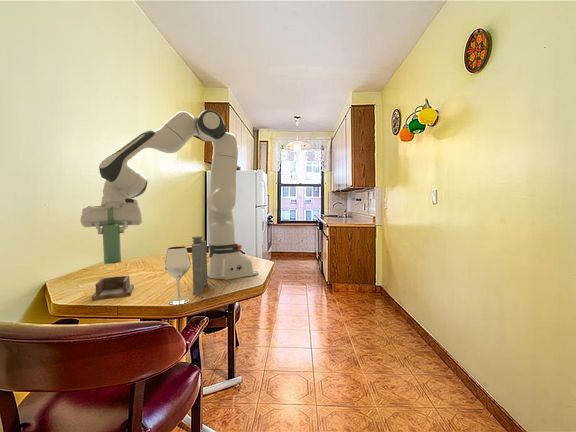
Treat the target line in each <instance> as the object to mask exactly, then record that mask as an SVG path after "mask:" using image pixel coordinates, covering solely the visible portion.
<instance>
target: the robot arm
mask: <svg viewBox="0 0 576 432" xmlns="http://www.w3.org/2000/svg"><path fill="white" fill-rule="evenodd" d="M227 131H228V130H227V127H226V123H225V122H224V119H223V117H222V115H221V114H220V113H219V112H218V111H216V110H214V109H205V110H203V111H201V113H199V115H198V117H196V116H194V115H192V114H191V113H190V112H187V111H184V110H182V111H178V112H177V113H175V114H174V115H173V116H172V117H171V118H169V119H168V120H167V121H166V122H165V123H164V124H163V125H162V126H161V127H160V128H158V129H156V130H151V129H149V130H146V131H143V132H142V133H141V134H139V135H137V136H136V137H135V138H133V139H132V140H131V141H129V142H128V143H127V144H125V145H124V146H123V147H120V149H119V150H117V151H116V152H114V153H113V154H111V155H109V156H107V157H105V158H104V159H103V160H102V161H101V162H100V164H99V167H98V170H99V175H100V176H101V178H102V179H104V180H105V182H104V184H103V189H102V194H103V195H102V197H101V202H100V205H95V206H92V205H91V206H89V205H88V206H86V207H84V208H82V212H81V217H80V220H79V221H80V225H81V226H82V227H84V228H94V227H95V230H97V235H103V230H102V225H108V218H107V208H113V212H114V224H119V225H120V227H119V232H120V234H125V230H127V229H128V227H129V226H138V225H141V224H142V223H143V222H142V221H143V219H142V218H143V217H142V212H141V209H140V207H139V202H138V200H137V199H134V198H137V197H140V196H141V195H143V194H144V193H145V192H146V190H147V186H148V179H147V177H146V176H145V175H144V174H142V173H141V172H140V171H138V170H137V169H136V168H134V166H132V165H131V164H129V163H128V161H129V160H131V159H132V158H133V157H135V156H136V155H137V154H138V153H140V152H141V151H143V150H144V149H153V150H157V151H160V152H162V153H165V154H175V153H178V152H179V151H180V150H181V149H183V147H184V146H185V145H186V144H187V142H188V141H189V140H190V139H191V138H193V137H194V138H195V139H198V140H200V141H201V142H204V143H212V148H213V149H212V158H211V169H210V185H209V194H208V196H207V198H206V207H207V217H208V218H207V219H208V230H209V231H208V232H209V237H208V238H209V244H208V257H209V264H208V265H209V266H208V269H207V275H208V279H215V280H216V279H218V280H226V281H227V280H233V279H239V278H245V277H250V276H251V277H252V276H257V275H258V274H259V271H258V270H257V269H256V268H255V267H254V266H253V262H252V260H251V259H250V258H249V257H248V256H246V255H245V254H244V253H243V252H241V251H240V250H242V244H237V243H236V240H235V239H236V237H235V236H236V235H235V223H234V218H233V217H234V216H233V209H234V208H235V205H236V195H237V193H236V192H237V181H236V180H237V168H238V158H239V143H238V138H237V137H236V135H234V133H231V132H227Z"/></svg>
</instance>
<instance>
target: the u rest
mask: <svg viewBox="0 0 576 432" xmlns="http://www.w3.org/2000/svg"><path fill="white" fill-rule="evenodd" d="M130 281H131V280H130V275H129V274H128V275H120V276H109V277H100V278H99V280H98V281H97V282H96V284H95V292H94V293H93V295H91V300H92V301H95V300H102V299H111V298H112V297H113V298H121V297H128V296H131V295H132V294H133V293H132V292H133V291H134V287H135V285H134V284H130V283H131V282H130ZM132 290H133V291H132Z"/></svg>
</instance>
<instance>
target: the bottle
mask: <svg viewBox="0 0 576 432" xmlns="http://www.w3.org/2000/svg"><path fill="white" fill-rule="evenodd" d="M107 218H108V225H102V226H101V228H102V230H103V234H102V243H103V244H102V247H103V264H105V265H106V264H107V265H111V264H118V263H122V254H121V253H122V251H121V248H122V247H121V233H120V232H119V227H121V226H120V225H119V224H114V212H113V208H107Z"/></svg>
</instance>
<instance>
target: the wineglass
mask: <svg viewBox="0 0 576 432" xmlns="http://www.w3.org/2000/svg"><path fill="white" fill-rule="evenodd" d="M189 255H190V254H189V251H188V249H187V246H172V247H167V249H166V253H165V259H164V263H163V267H164V270H165V271H166V272H167V273H168V274H169V275H170V276H172V278H174V279H175V281H176V286H177V298H175V299H174V298H173V299H171V300H169V301H168V304H169V305H173V306H177V305H178V306H179V305H184V304H187V303H189V302H190V299H189V298H186V297H181V285H180V283H181V282H180V281H181V278H182V277H184V275H185V274H187V273H188V271H190V268H191V266H192V265H191V259H190V256H189Z"/></svg>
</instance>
